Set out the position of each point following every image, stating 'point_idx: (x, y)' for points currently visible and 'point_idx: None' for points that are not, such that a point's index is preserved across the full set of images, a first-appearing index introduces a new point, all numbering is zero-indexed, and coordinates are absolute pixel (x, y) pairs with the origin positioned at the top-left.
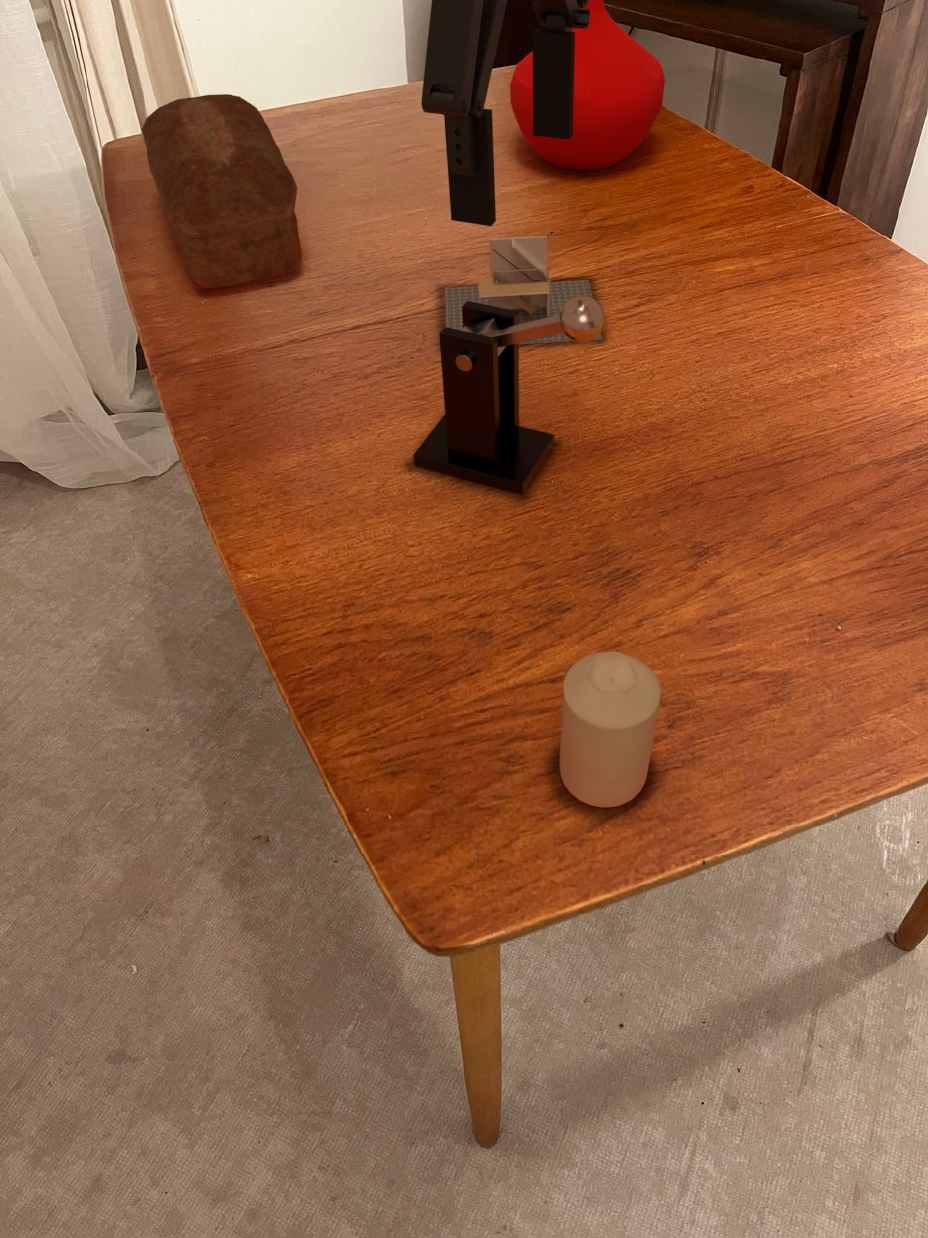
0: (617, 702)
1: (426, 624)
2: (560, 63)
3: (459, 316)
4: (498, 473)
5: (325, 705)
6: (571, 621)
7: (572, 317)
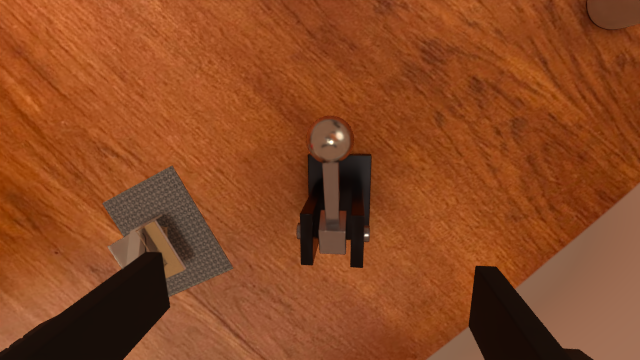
0: None
1: (517, 164)
2: (69, 351)
3: (192, 275)
4: (366, 176)
5: (604, 193)
6: (485, 71)
7: (349, 145)
